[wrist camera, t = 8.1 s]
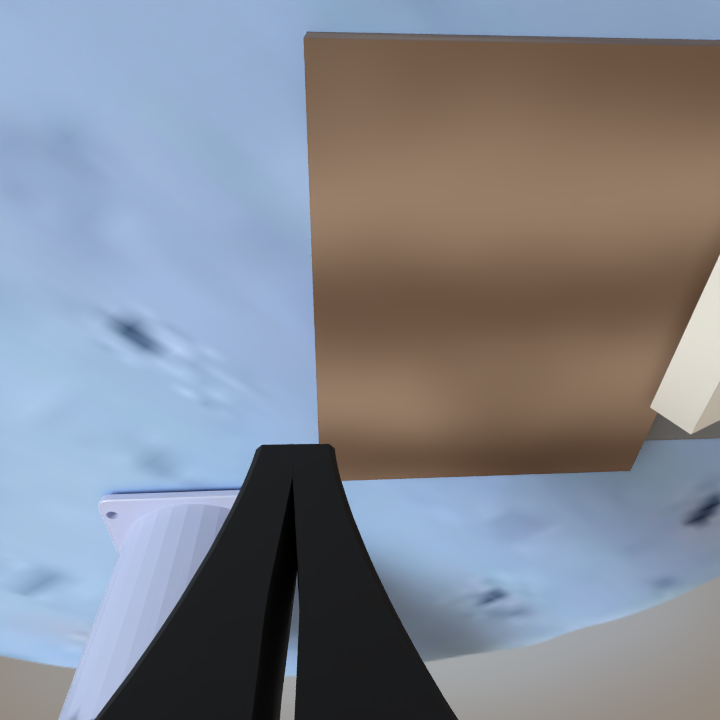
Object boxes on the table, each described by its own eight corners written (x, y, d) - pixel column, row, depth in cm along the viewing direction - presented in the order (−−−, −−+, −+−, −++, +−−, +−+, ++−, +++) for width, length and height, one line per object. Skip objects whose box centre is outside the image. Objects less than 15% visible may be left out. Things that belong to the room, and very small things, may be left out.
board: (596, 418, 22) (630, 470, 20) (320, 426, 21) (320, 481, 19) (740, 40, 14) (829, 48, 12) (306, 31, 13) (303, 38, 11)
